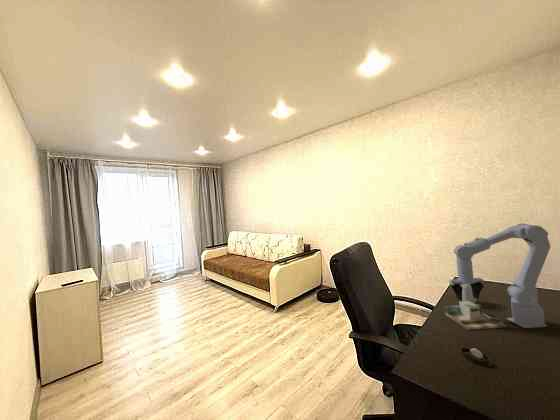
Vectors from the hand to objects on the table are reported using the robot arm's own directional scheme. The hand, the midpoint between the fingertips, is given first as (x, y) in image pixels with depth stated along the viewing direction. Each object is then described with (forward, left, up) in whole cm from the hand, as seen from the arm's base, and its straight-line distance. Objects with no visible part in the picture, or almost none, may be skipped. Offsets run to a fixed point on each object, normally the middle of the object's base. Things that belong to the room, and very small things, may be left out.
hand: (467, 298), depth 106 cm
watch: (+20, +27, -10) cm, 35 cm away
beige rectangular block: (0, 0, -8) cm, 8 cm away
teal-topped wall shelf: (0, +2, -9) cm, 10 cm away
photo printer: (-12, -15, -10) cm, 21 cm away
